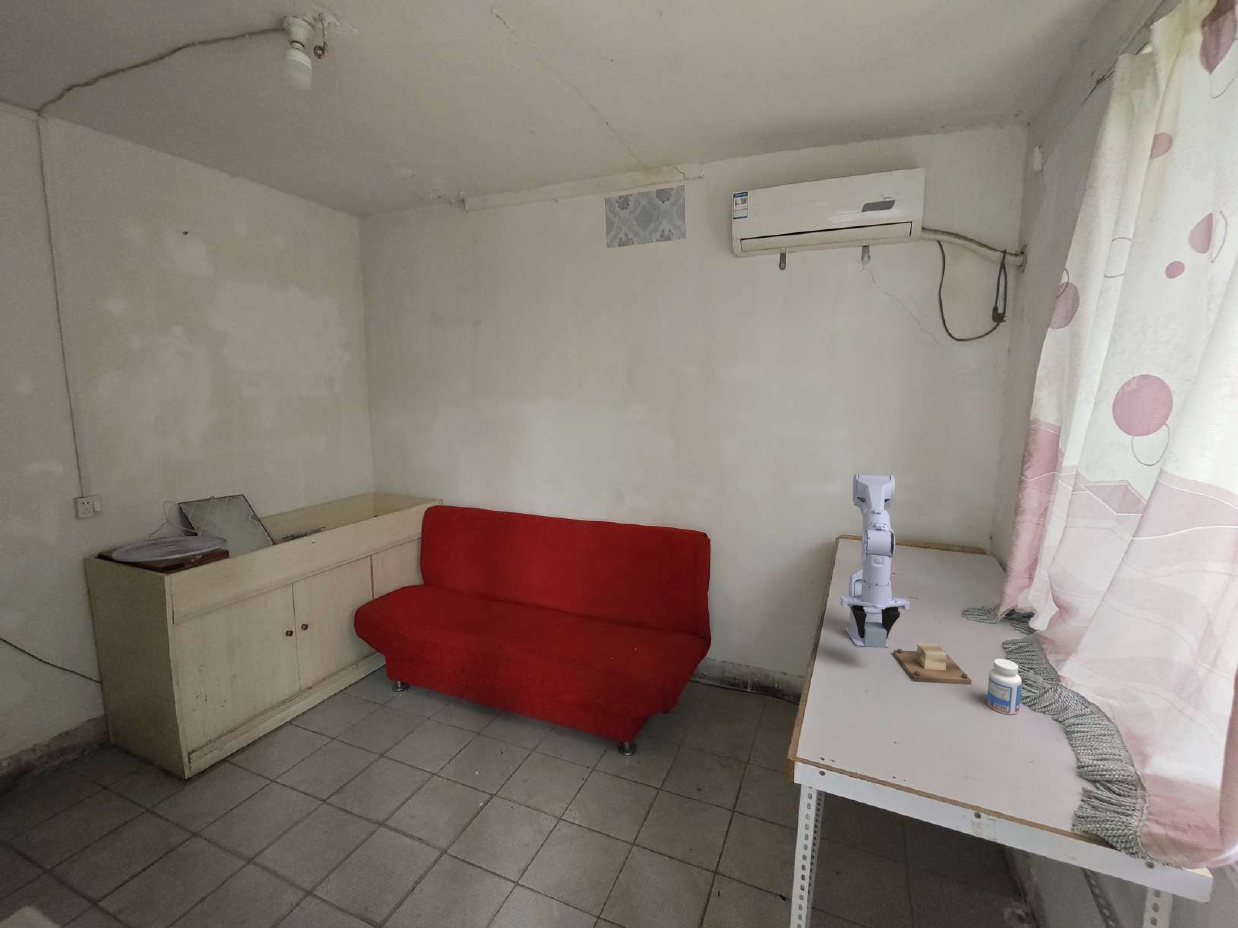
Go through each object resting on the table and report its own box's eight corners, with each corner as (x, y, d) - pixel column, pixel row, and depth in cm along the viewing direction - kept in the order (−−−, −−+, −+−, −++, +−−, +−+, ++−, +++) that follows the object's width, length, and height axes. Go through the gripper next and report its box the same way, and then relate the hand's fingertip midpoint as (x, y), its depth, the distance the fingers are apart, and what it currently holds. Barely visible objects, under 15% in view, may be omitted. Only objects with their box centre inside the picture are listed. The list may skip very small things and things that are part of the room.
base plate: (893, 653, 128) (893, 647, 128) (945, 656, 126) (945, 649, 126) (913, 681, 116) (914, 674, 116) (971, 684, 115) (971, 677, 114)
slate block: (859, 636, 123) (860, 621, 122) (879, 638, 122) (880, 622, 122) (865, 646, 118) (865, 630, 118) (885, 647, 118) (886, 631, 117)
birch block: (916, 658, 124) (917, 643, 123) (936, 659, 123) (937, 644, 123) (924, 669, 119) (925, 653, 119) (945, 670, 119) (946, 654, 118)
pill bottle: (1005, 698, 109) (1009, 656, 108) (1025, 714, 104) (1030, 670, 103) (980, 699, 109) (984, 657, 108) (999, 715, 104) (1003, 671, 102)
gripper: (847, 586, 115) (845, 643, 117) (917, 588, 113) (912, 646, 115) (838, 575, 122) (836, 628, 124) (903, 577, 120) (900, 631, 122)
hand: (872, 636), depth 120 cm, fingers closed on slate block, 4 cm apart
